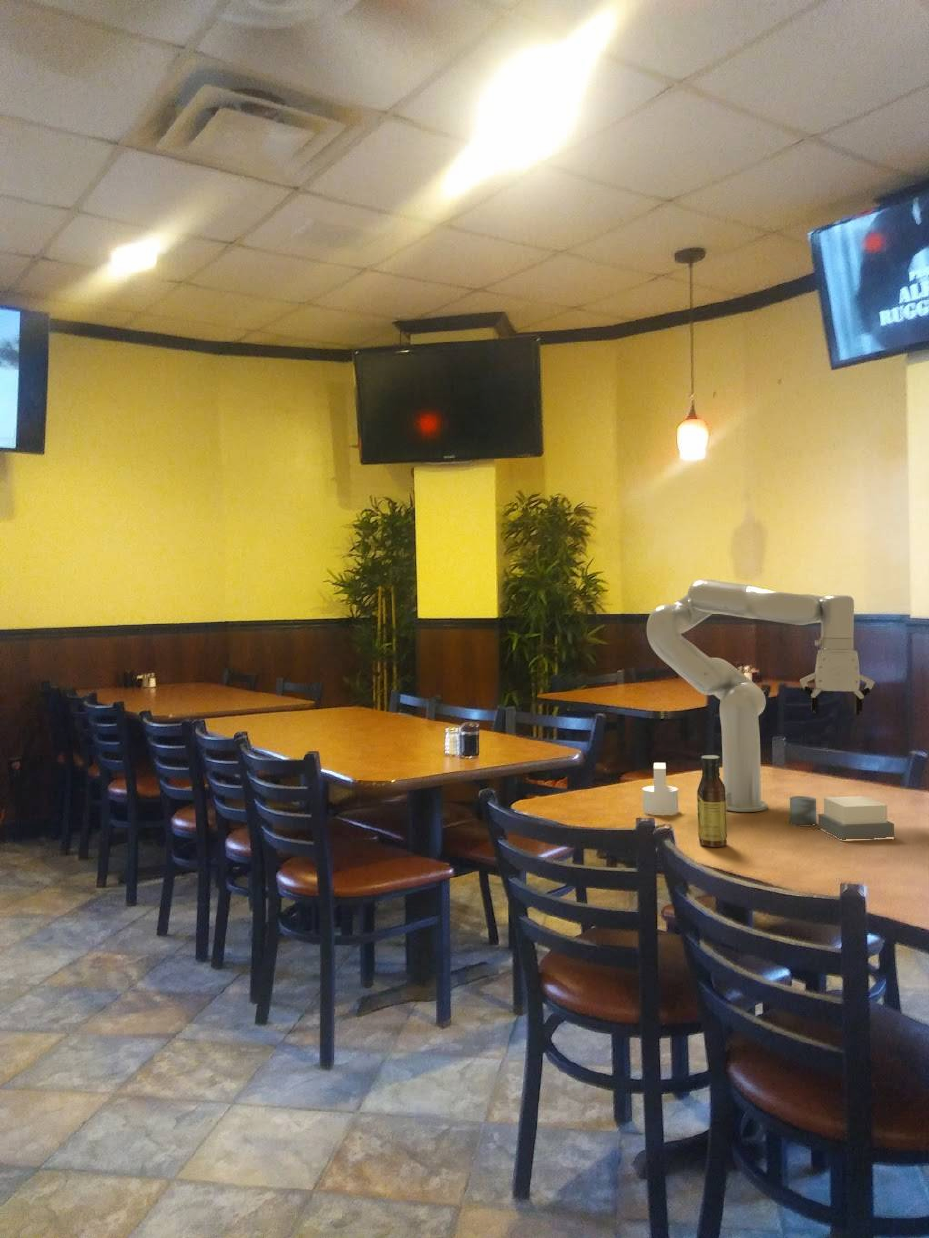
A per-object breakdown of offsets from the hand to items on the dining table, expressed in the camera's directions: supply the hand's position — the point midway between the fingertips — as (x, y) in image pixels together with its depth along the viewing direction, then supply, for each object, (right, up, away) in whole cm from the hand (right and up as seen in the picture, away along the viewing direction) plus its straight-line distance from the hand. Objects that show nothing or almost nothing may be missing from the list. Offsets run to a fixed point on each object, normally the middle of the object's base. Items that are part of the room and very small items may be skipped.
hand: (836, 713), depth 238 cm
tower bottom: (-3, -26, -18) cm, 32 cm away
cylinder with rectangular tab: (-42, -26, +9) cm, 50 cm away
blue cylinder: (-11, -26, -7) cm, 29 cm away
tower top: (-3, -22, -18) cm, 29 cm away
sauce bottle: (-37, -27, -25) cm, 52 cm away
